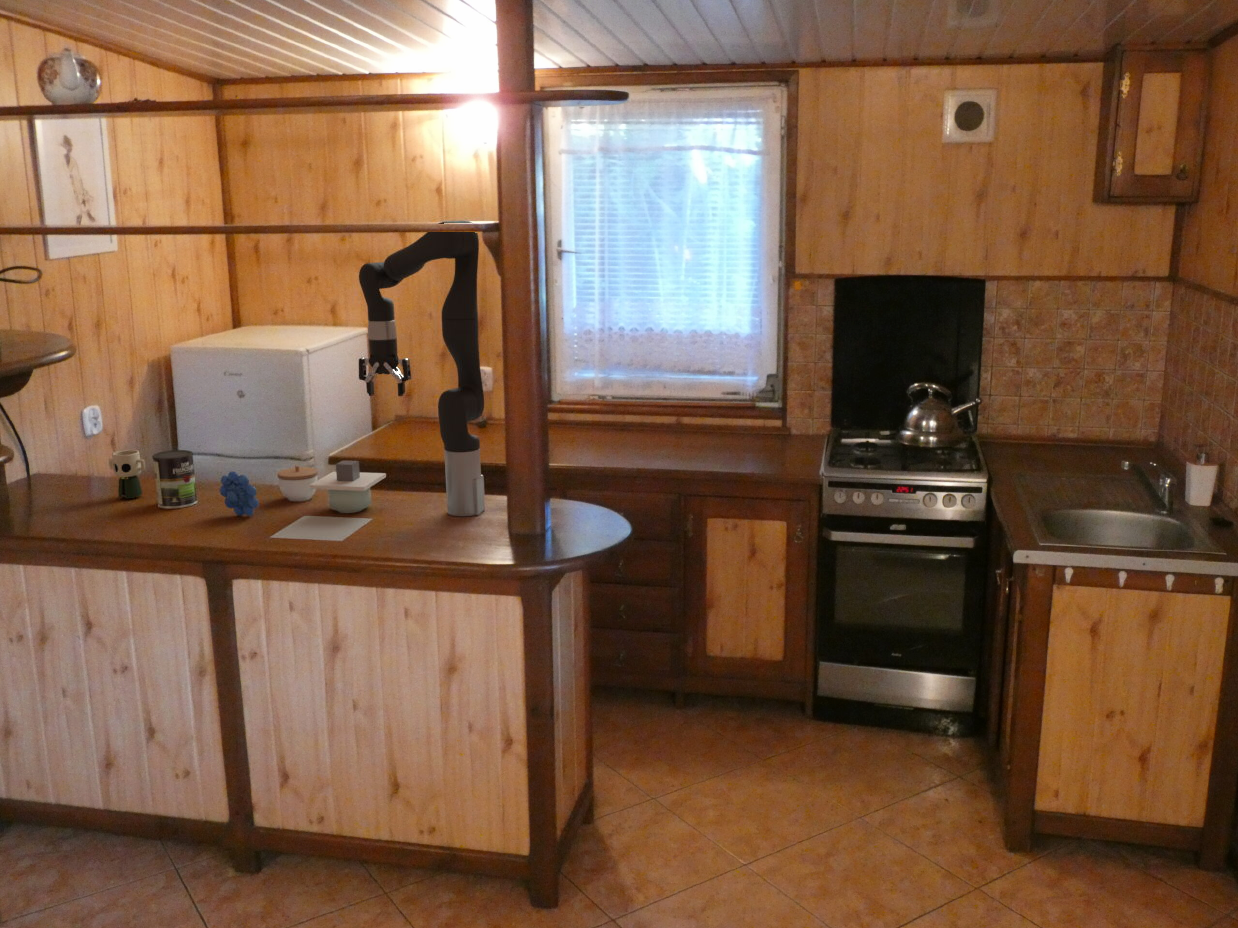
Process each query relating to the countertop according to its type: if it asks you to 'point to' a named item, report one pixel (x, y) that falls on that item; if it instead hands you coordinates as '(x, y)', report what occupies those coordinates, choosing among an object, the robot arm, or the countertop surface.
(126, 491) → the character mug
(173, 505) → the coffee can
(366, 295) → the robot arm
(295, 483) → the lidded jar
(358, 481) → the lid
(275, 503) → the countertop surface
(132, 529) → the countertop surface
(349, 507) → the bowl
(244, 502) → the grapes
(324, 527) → the mat
